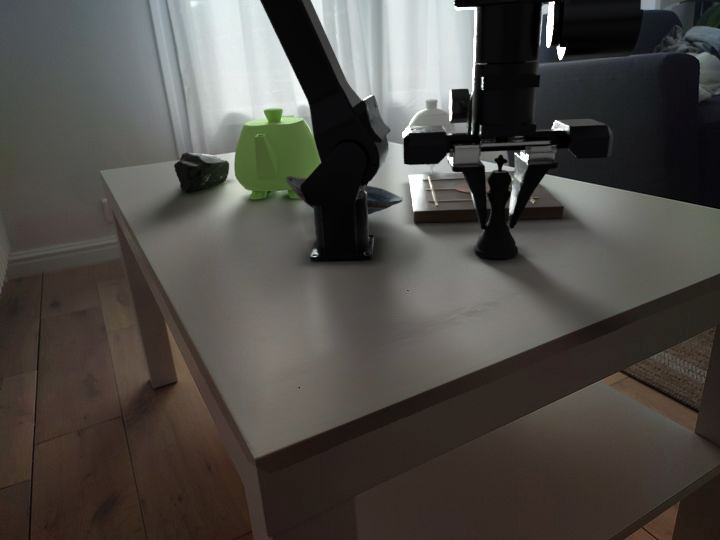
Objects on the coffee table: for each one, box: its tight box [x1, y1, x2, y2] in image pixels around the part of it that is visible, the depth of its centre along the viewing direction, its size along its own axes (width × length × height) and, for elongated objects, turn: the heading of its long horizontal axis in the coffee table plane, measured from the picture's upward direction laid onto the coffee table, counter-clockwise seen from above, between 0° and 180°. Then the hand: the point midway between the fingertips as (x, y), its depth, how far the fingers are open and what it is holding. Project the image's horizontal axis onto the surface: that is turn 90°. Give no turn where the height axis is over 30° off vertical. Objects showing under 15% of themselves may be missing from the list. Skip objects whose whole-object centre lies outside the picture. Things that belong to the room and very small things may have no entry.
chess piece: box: [473, 154, 519, 260], centre depth 53 cm, size 4×4×10 cm
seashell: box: [286, 176, 404, 215], centre depth 68 cm, size 15×12×5 cm
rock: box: [173, 152, 230, 194], centre depth 89 cm, size 10×9×6 cm
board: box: [408, 170, 565, 224], centre depth 74 cm, size 20×18×2 cm
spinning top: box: [408, 98, 456, 174], centre depth 88 cm, size 8×8×12 cm
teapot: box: [233, 107, 321, 200], centre depth 81 cm, size 20×13×13 cm
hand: (497, 227), depth 54 cm, fingers closed on chess piece, 2 cm apart
